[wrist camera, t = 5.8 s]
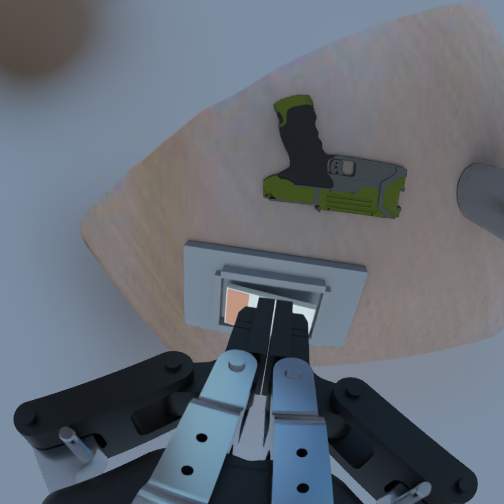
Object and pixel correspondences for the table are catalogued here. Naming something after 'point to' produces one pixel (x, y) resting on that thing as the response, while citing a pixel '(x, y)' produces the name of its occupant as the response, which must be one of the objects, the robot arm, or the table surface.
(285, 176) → the gun
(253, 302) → the rocker
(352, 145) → the table surface
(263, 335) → the robot arm
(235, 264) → the panel
